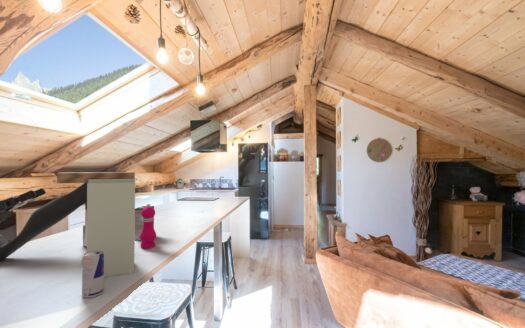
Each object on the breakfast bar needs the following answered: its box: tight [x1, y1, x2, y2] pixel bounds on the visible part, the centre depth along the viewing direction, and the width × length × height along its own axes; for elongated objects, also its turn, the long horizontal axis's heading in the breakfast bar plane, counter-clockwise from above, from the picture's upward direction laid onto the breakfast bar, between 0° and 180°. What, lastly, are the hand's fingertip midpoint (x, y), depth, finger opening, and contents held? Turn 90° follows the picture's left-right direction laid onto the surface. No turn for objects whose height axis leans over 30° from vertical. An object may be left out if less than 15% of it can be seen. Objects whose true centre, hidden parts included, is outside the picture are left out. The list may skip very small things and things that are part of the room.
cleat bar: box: [56, 171, 136, 184], centre depth 92 cm, size 23×4×4 cm, turn 114°
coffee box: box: [135, 205, 155, 241], centre depth 137 cm, size 9×6×16 cm
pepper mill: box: [139, 203, 157, 250], centre depth 122 cm, size 7×7×20 cm
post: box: [86, 179, 136, 278], centre depth 94 cm, size 14×10×33 cm
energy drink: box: [81, 251, 105, 299], centre depth 77 cm, size 5×5×12 cm
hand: (39, 191), depth 85 cm, fingers open, 8 cm apart
